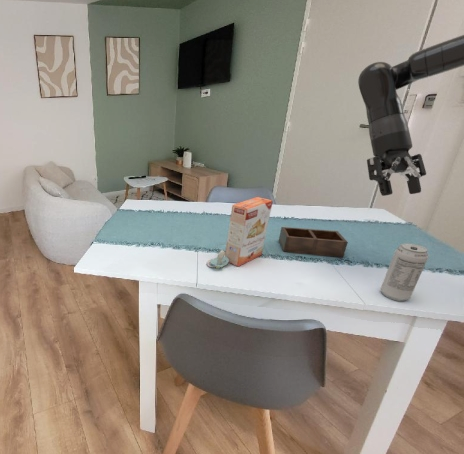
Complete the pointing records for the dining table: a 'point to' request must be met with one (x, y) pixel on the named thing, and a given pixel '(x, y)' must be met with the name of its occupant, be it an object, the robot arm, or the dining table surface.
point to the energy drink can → (404, 271)
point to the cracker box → (247, 230)
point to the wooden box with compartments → (312, 242)
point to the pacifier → (218, 260)
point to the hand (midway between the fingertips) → (401, 194)
